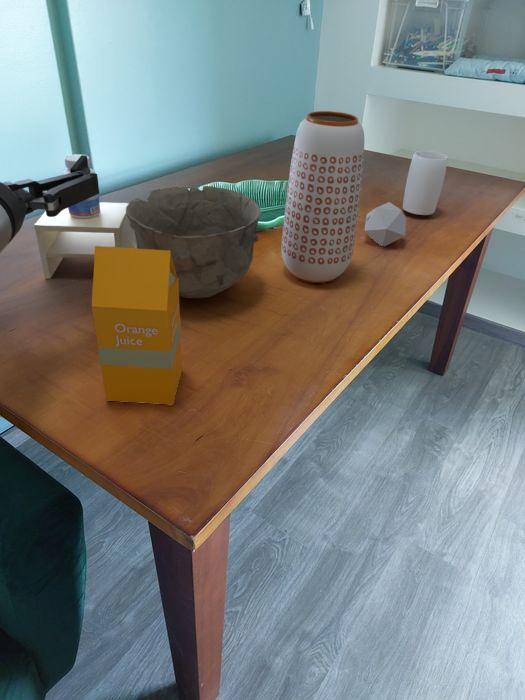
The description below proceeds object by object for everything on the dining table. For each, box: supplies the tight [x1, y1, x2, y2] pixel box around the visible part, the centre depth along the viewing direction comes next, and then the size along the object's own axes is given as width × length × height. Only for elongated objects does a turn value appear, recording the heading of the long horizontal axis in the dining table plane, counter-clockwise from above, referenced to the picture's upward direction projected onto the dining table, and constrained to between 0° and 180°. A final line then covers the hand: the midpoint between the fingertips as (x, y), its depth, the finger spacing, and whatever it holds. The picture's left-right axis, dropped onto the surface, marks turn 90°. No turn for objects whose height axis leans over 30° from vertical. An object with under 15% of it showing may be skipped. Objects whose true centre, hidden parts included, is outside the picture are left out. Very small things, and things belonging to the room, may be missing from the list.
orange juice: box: [91, 246, 183, 406], centre depth 66 cm, size 8×9×20 cm
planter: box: [280, 110, 365, 284], centre depth 94 cm, size 13×13×28 cm
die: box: [364, 201, 407, 247], centre depth 114 cm, size 8×9×10 cm
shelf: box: [34, 201, 135, 279], centre depth 98 cm, size 14×12×10 cm
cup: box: [402, 150, 449, 216], centre depth 128 cm, size 8×8×14 cm
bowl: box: [126, 185, 262, 299], centre depth 91 cm, size 22×22×15 cm
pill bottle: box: [62, 153, 100, 218], centre depth 92 cm, size 6×5×10 cm
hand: (35, 163), depth 75 cm, fingers open, 13 cm apart
